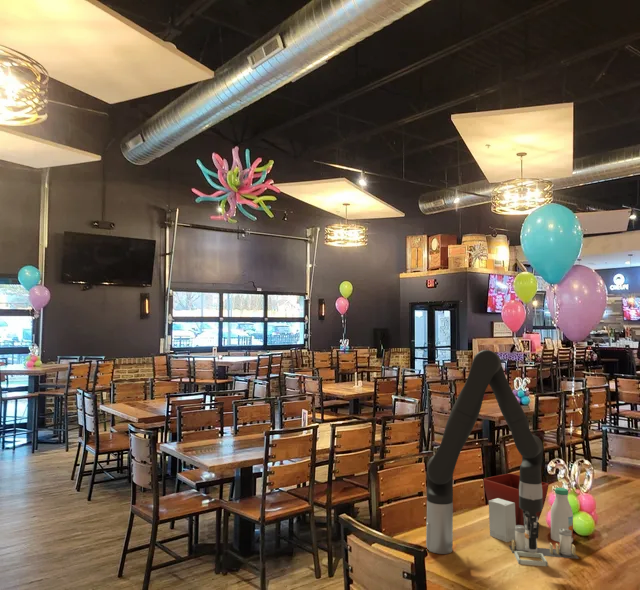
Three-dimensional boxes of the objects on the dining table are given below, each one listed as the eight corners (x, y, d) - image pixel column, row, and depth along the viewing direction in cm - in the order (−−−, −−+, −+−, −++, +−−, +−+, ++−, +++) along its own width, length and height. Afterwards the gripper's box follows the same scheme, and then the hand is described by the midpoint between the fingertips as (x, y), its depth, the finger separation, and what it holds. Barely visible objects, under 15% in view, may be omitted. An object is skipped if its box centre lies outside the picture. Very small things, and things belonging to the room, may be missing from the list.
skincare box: (516, 543, 207) (516, 502, 208) (506, 546, 204) (506, 505, 205) (498, 536, 214) (498, 496, 215) (488, 539, 211) (488, 499, 212)
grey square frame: (518, 568, 186) (518, 559, 186) (514, 559, 193) (514, 550, 193) (547, 570, 184) (547, 562, 184) (542, 561, 192) (542, 553, 192)
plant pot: (550, 524, 228) (549, 483, 229) (521, 533, 217) (521, 490, 218) (510, 511, 244) (510, 472, 245) (481, 519, 233) (482, 478, 234)
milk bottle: (563, 548, 204) (563, 492, 205) (546, 541, 210) (546, 487, 212) (577, 545, 207) (577, 490, 208) (560, 537, 214) (560, 485, 215)
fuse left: (516, 551, 196) (516, 528, 196) (514, 547, 200) (514, 524, 200) (528, 552, 195) (528, 529, 195) (525, 548, 199) (525, 525, 199)
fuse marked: (526, 551, 187) (526, 527, 188) (523, 547, 191) (523, 523, 192) (538, 552, 187) (538, 528, 187) (536, 547, 191) (535, 524, 191)
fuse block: (512, 557, 194) (512, 544, 195) (508, 549, 201) (508, 537, 201) (579, 563, 191) (579, 549, 191) (573, 554, 198) (573, 542, 198)
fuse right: (561, 555, 193) (561, 532, 194) (558, 551, 197) (557, 528, 198) (573, 556, 193) (573, 532, 193) (569, 551, 197) (569, 528, 197)
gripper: (515, 488, 198) (515, 537, 197) (523, 500, 184) (523, 553, 183) (537, 489, 196) (537, 539, 195) (547, 502, 182) (547, 555, 181)
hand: (531, 546), depth 189 cm, fingers closed on fuse marked, 4 cm apart
